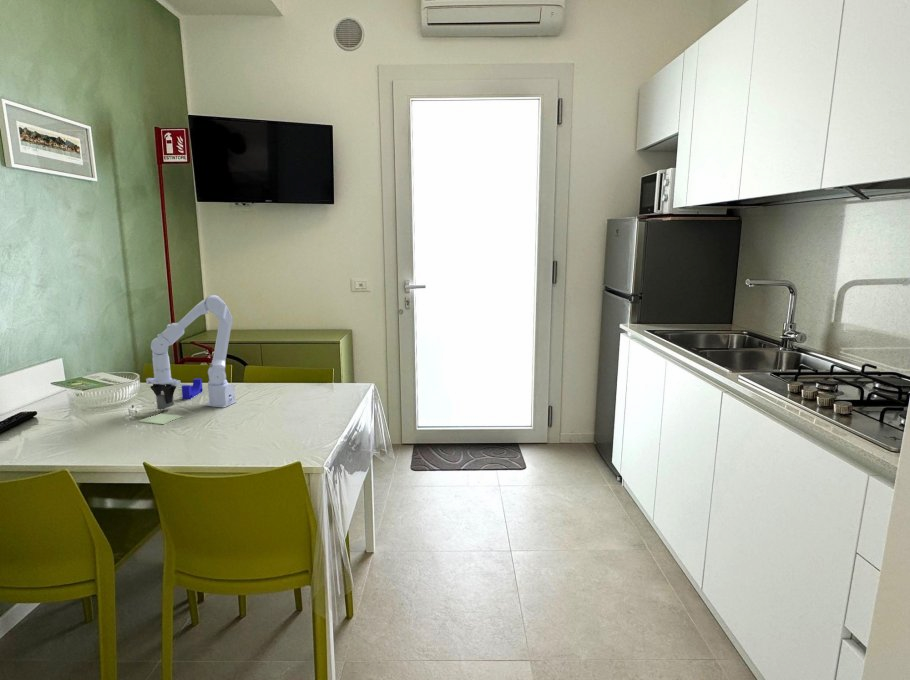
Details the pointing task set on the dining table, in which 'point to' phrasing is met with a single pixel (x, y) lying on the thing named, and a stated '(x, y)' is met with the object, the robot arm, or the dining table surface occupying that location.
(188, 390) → the blue u-shaped block
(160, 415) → the sage mat
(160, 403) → the dark grey block
